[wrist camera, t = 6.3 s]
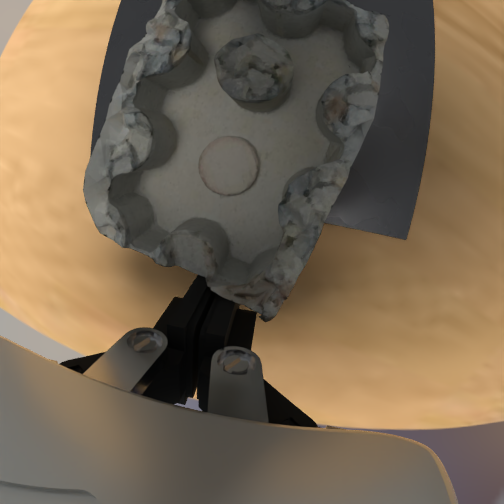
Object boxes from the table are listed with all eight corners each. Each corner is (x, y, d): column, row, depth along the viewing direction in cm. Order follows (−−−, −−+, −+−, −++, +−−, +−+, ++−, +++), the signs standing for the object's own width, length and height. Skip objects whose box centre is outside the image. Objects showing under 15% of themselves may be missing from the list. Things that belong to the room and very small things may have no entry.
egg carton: (274, 282, 12) (269, 342, 8) (117, 210, 12) (57, 239, 8) (385, 53, 8) (429, 17, 5) (212, -11, 8) (184, -64, 4)
